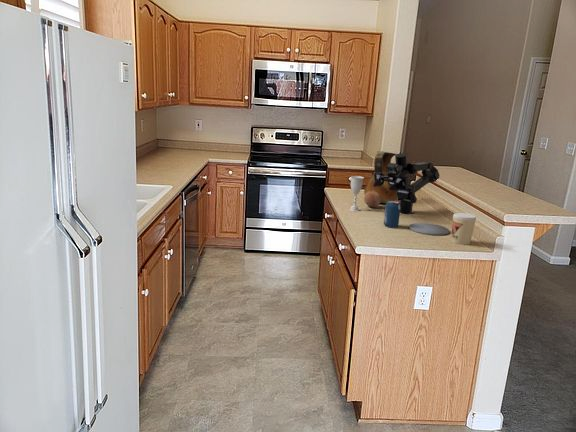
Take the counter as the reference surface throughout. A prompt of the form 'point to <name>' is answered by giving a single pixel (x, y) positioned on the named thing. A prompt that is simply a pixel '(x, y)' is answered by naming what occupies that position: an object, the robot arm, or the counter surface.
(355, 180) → the chalice
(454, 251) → the counter surface
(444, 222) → the counter surface
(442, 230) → the rubber mat
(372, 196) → the onion
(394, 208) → the soda can
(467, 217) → the coffee cup
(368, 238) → the counter surface
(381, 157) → the ceramic pitcher
